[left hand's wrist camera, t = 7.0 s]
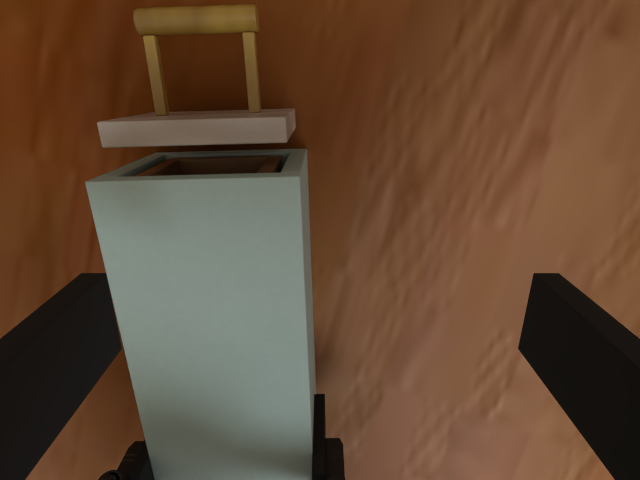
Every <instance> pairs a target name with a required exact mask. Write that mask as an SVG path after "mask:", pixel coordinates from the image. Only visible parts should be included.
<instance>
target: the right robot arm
mask: <svg viewBox="0 0 640 480" xmlns="http://www.w3.org/2000/svg"><path fill="white" fill-rule="evenodd" d="M99 480H155V479H154V475H153V471H152V467H151V462H150V458H149V454H148V449H147V445H146V441H145V440H144V441H135V442H134V443H133V444H132V445H131V446H130V447H129V448H128V450H127V452H126V454H125V456H124V458H123V460H122V461H121V463H120V465H119V467H118V469H117V470H111V471H108V472H106V473H104V474H103V475H102V476H101V477H100V478H99ZM312 480H345V476H344V456H343V444H342V442H341V440H340V438H325V394H314V420H313V453H312Z"/></svg>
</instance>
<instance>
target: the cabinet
mask: <svg viewBox="0 0 640 480" xmlns="http://www.w3.org/2000/svg"><path fill="white" fill-rule="evenodd" d="M254 155H282V165H283V169H282V171H281V173H245V174H206V175H167V176H135V175H137V174H140V173H142V172H144V171H146V170H148V169H150V168H152V167H154V166H156V165H158V164H160V163H162V162H164V161H166V160H168V159H170V158H178V157H216V156H254ZM85 184H86V188H87V193H88V197H89V201H90V206H91V210H92V214H93V218H94V223H95V227H96V231H97V235H98V240H99V244H100V248H101V253H102V257H103V261H104V265H105V270H106V274H107V278H108V283H109V287H110V291H111V295H112V300H113V304H114V308H115V313H116V317H117V321H118V325H119V330H120V334H121V338H122V342H123V347H124V351H125V355H126V360H127V364H128V368H129V372H130V377H131V381H132V385H133V390H134V394H135V398H136V402H137V407H138V411H139V415H140V419H141V424H142V428H143V432H144V437H145V441H146V445H147V449H148V454H149V458H150V462H151V467H152V471H153V475H154V479H155V480H312V453H313V420H314V394H316V372H315V346H314V320H313V294H312V267H311V241H310V215H309V189H308V163H307V149H272V150H234V151H197V152H160V153H154V154H151V155H149V156H146V157H144V158H142V159H139V160H137V161H134V162H132V163H130V164H127V165H125V166H122V167H120V168H118V169H115V170H113V171H110V172H108V173H106V174H103V175H101V176H98V177H96V178H93V179H91V180H89V181H86V182H85Z"/></svg>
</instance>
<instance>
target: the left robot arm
mask: <svg viewBox="0 0 640 480" xmlns="http://www.w3.org/2000/svg"><path fill="white" fill-rule="evenodd" d="M121 349H122V347H121V342H120V337H119V332H118V328H117V323H116V318H115V313H114V308H113V304H112V299H111V294H110V289H109V284H108V279H107V275H106V273H81V274H80V275H79V276H77V277H76V278H75V279H74V280H72V281H71V282H70V283H69V284H68V285H66V286H65V287H64V288H63V289H61V290H60V291H59V292H58V293H56V294H55V295H54V296H53V297H51V298H50V299H49V300H48V301H47V302H45V303H44V304H43V305H42V306H40V307H39V308H38V309H37V310H35V311H34V312H33V313H32V314H30V315H29V316H28V317H27V318H26V319H24V320H23V321H22V322H21V323H19V324H18V325H17V326H16V327H14V328H13V329H12V330H11V331H9V332H8V333H7V334H6V335H5V336H3V337H2V338H1V339H0V480H25V479H26V478H27V476H28V475H29V474H30V472H31V471H32V470H33V468H34V467H35V466H36V464H37V463H38V461H39V460H40V459H41V457H42V456H43V455H44V453H45V452H46V451H47V449H48V448H49V447H50V445H51V444H52V442H53V441H54V440H55V438H56V437H57V436H58V434H59V433H60V432H61V430H62V429H63V428H64V426H65V425H66V424H67V422H68V421H69V419H70V418H71V417H72V415H73V414H74V413H75V411H76V410H77V409H78V407H79V406H80V405H81V403H82V402H83V400H84V399H85V398H86V396H87V395H88V394H89V392H90V391H91V390H92V388H93V387H94V386H95V384H96V383H97V381H98V380H99V379H100V377H101V376H102V375H103V373H104V372H105V371H106V369H107V368H108V367H109V365H110V364H111V363H112V361H113V360H114V358H115V357H116V356H117V354H118V353H119V352H120V350H121ZM518 349H519V350H520V352H521V353H522V354H523V356H524V357H525V358H526V360H527V361H528V363H529V364H530V365H531V367H532V368H533V369H534V371H535V372H536V373H537V375H538V376H539V377H540V379H541V380H542V381H543V383H544V384H545V386H546V387H547V388H548V390H549V391H550V392H551V394H552V395H553V396H554V398H555V399H556V400H557V402H558V403H559V405H560V406H561V407H562V409H563V410H564V411H565V413H566V414H567V415H568V417H569V418H570V419H571V421H572V422H573V424H574V425H575V426H576V428H577V429H578V430H579V432H580V433H581V434H582V436H583V437H584V438H585V440H586V441H587V442H588V444H589V445H590V447H591V448H592V449H593V451H594V452H595V453H596V455H597V456H598V457H599V459H600V460H601V461H602V463H603V464H604V466H605V467H606V468H607V470H608V471H609V472H610V474H611V475H612V476H613V478H614V479H615V480H640V339H639V338H638V337H637V336H635V335H634V334H633V333H632V332H631V331H629V330H628V329H627V328H626V327H624V326H623V325H622V324H621V323H619V322H618V321H617V320H616V319H614V318H613V317H612V316H611V315H610V314H608V313H607V312H606V311H605V310H603V309H602V308H601V307H600V306H598V305H597V304H596V303H595V302H593V301H592V300H591V299H590V298H589V297H587V296H586V295H585V294H584V293H582V292H581V291H580V290H579V289H577V288H576V287H575V286H574V285H572V284H571V283H570V282H569V281H568V280H566V279H565V278H564V277H563V276H561V275H560V274H559V273H534V275H533V279H532V284H531V289H530V294H529V299H528V304H527V308H526V313H525V318H524V323H523V328H522V332H521V337H520V342H519V347H518Z"/></svg>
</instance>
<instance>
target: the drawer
mask: <svg viewBox="0 0 640 480" xmlns="http://www.w3.org/2000/svg"><path fill="white" fill-rule="evenodd" d="M133 19H134V24H135V28H136V30H137V32H138V33H139V35H141V36H143V40H144V46H145V53H146V59H147V65H148V71H149V77H150V83H151V90H152V96H153V102H154V108H155V112H152V113H146V114H140V115H134V116H129V117H123V118H117V119H111V120H105V121H100V122H97V125H98V130H99V135H100V139H101V144H102V147H103V148H113V147H150V146H187V145H224V144H261V143H286V142H287V141H288V139H289V138H290V136H291V135H292V133H293V131H294V130H295V128H296V123H295V109H294V108H290V109H261V100H260V87H259V74H258V60H257V47H256V34H255V33H254V32H259V26H260V24H259V13H258V8H257V5H256V4H243V5H212V6H182V7H152V8H136V9H134V12H133ZM220 33H242V37H243V49H244V61H245V72H246V84H247V96H248V108H249V110H220V111H185V112H169V106H168V99H167V93H166V86H165V79H164V73H163V66H162V60H161V53H160V46H159V40H158V36H157V35H189V34H220ZM282 169H283V165H282V155H254V156H216V157H178V158H170V159H168V160H166V161H164V162H162V163H160V164H158V165H156V166H154V167H152V168H150V169H148V170H146V171H144V172H142V173H140V174H137V175H135V176H167V175H206V174H245V173H281V171H282Z"/></svg>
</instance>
